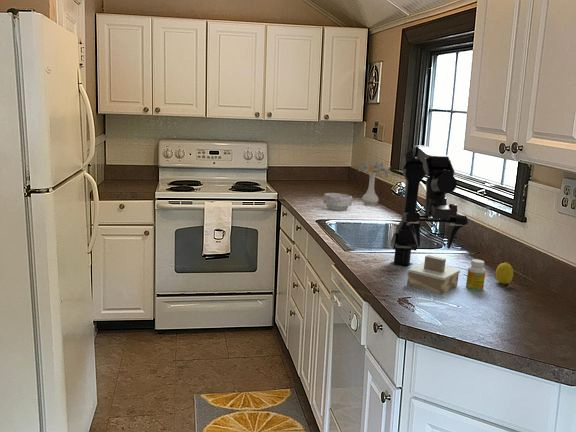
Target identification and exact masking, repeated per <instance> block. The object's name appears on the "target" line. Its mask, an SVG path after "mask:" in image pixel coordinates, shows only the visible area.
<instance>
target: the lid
mask: <svg viewBox="0 0 576 432" xmlns="http://www.w3.org/2000/svg"><path fill="white" fill-rule="evenodd" d="M446 259H447V258H442V257H439V256H433V255H429V254H428V255H425V257H424V261H423V262H421V263H419V264H417V265H415V266H412V267H410V268H407V273H408V272H412V273H416V274H420V275H424V276H428V277H432V278H436V279H440V280H446V279H448V278H450V277H452V276H454V275H456V274H458V273H459V274H460V273H461V270H459V269H457V268H456V269H455V268H452V267H447V266H446V261H447V260H446Z"/></svg>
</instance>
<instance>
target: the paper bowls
mask: <svg viewBox="0 0 576 432" xmlns="http://www.w3.org/2000/svg"><path fill="white" fill-rule="evenodd" d="M323 204H324V205H325V206H326V208H327V209H328V210H330V211H334V212H345V211H347V209H348V208H349V207H351V206H352V204H353V196H352V195H349V194H346V193H345V194H344V193H338V192H326V193H324V194H323Z"/></svg>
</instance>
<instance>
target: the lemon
mask: <svg viewBox="0 0 576 432" xmlns="http://www.w3.org/2000/svg"><path fill="white" fill-rule="evenodd" d="M513 277H514V268H513V266H512V265H511V264H510V263H508V262H507V261H505V262H502V263H500V264H499V265H498V266H497V267H496V269H495V279H496V280H497V282H498V283H500V284H501V285H506V284H509V283H510V282H512V280H513Z"/></svg>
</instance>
